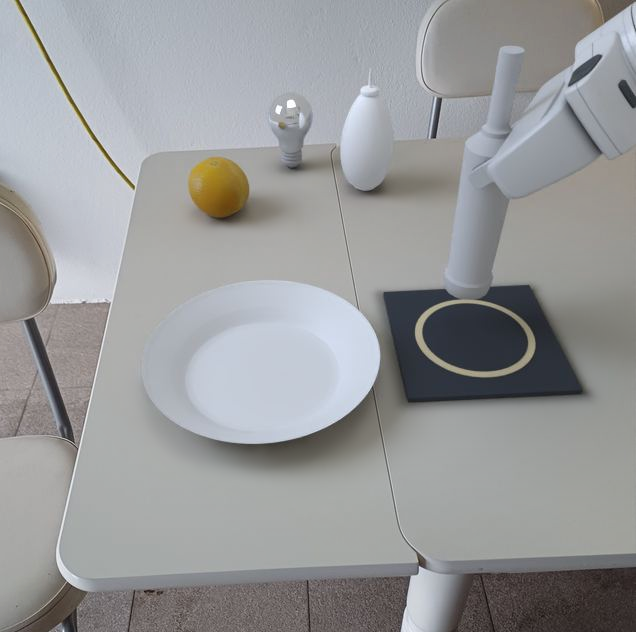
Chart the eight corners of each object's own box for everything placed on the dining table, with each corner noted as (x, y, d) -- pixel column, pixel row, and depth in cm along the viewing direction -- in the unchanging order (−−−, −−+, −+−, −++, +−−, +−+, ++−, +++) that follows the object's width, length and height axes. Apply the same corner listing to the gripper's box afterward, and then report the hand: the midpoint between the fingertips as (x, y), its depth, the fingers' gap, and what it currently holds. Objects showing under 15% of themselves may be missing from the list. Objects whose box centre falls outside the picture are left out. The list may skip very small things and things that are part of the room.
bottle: (439, 297, 70) (477, 57, 53) (445, 270, 74) (483, 38, 57) (488, 304, 69) (543, 62, 52) (492, 276, 73) (544, 41, 56)
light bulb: (299, 181, 102) (297, 106, 94) (262, 171, 105) (257, 98, 97) (321, 162, 107) (320, 89, 98) (285, 154, 109) (282, 82, 101)
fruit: (260, 205, 97) (257, 155, 92) (233, 231, 92) (227, 180, 87) (211, 193, 100) (205, 144, 95) (181, 218, 95) (173, 168, 90)
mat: (528, 288, 80) (529, 283, 79) (581, 393, 67) (583, 388, 66) (383, 295, 80) (383, 290, 80) (407, 402, 67) (408, 397, 66)
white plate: (397, 323, 76) (400, 299, 74) (346, 494, 59) (347, 470, 56) (202, 289, 82) (199, 266, 80) (104, 435, 65) (96, 411, 63)
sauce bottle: (384, 203, 96) (393, 80, 84) (334, 197, 98) (335, 76, 86) (394, 178, 102) (404, 60, 89) (346, 173, 104) (349, 56, 91)
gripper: (624, 8, 58) (494, 100, 68) (578, 88, 45) (427, 186, 55) (660, 66, 59) (528, 148, 69) (627, 161, 46) (470, 244, 56)
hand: (483, 166), depth 62 cm, fingers closed on bottle, 5 cm apart
